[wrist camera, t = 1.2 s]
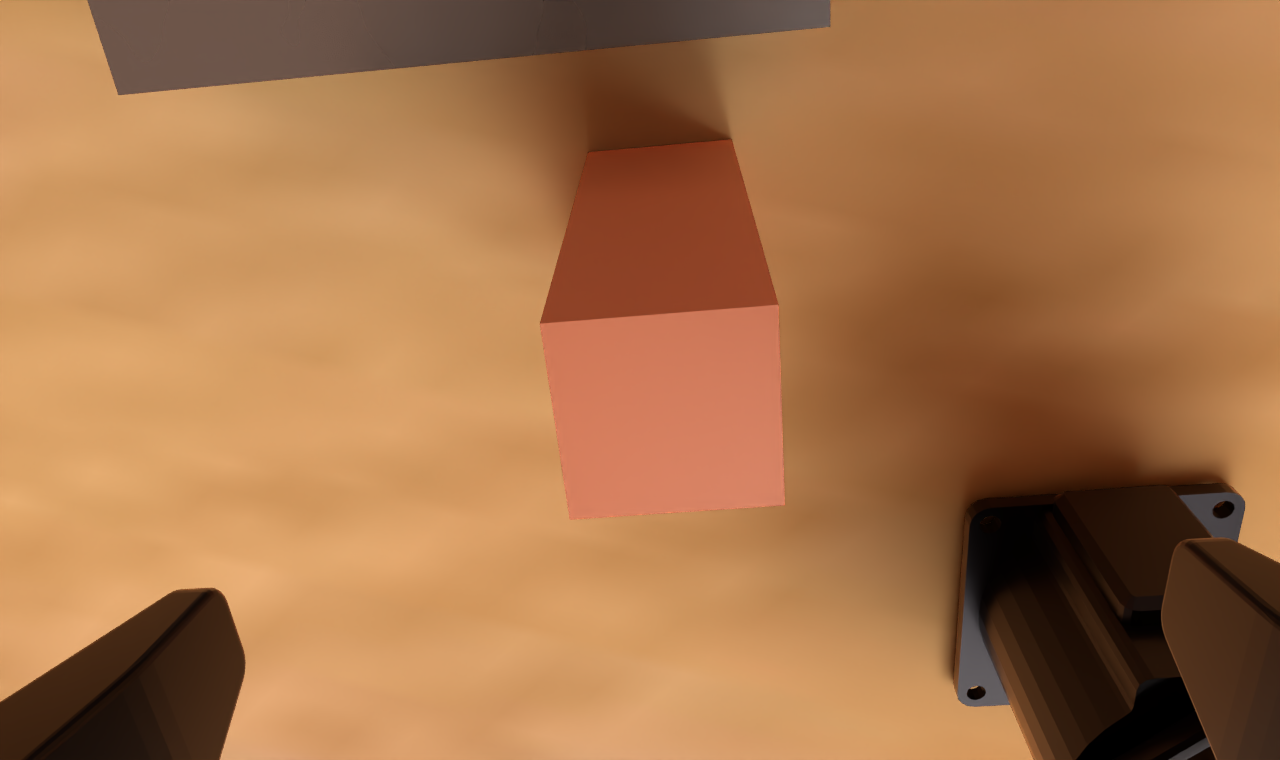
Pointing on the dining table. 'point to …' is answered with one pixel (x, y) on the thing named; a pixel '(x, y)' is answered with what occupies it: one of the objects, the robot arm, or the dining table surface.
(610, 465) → the terracotta rectangular prism
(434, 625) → the dining table surface
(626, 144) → the dining table surface
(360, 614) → the dining table surface
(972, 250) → the dining table surface
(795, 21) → the grey square hole block
